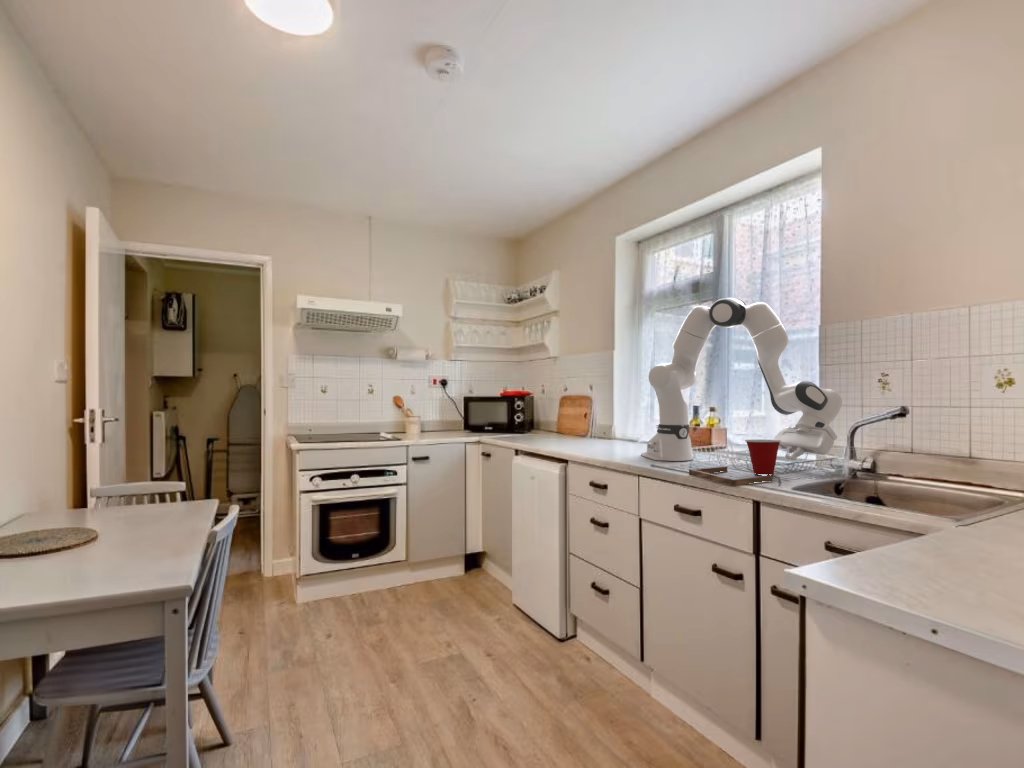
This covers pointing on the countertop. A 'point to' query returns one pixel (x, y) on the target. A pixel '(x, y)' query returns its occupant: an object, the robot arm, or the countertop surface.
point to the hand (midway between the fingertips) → (789, 458)
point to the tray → (733, 482)
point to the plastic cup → (763, 455)
